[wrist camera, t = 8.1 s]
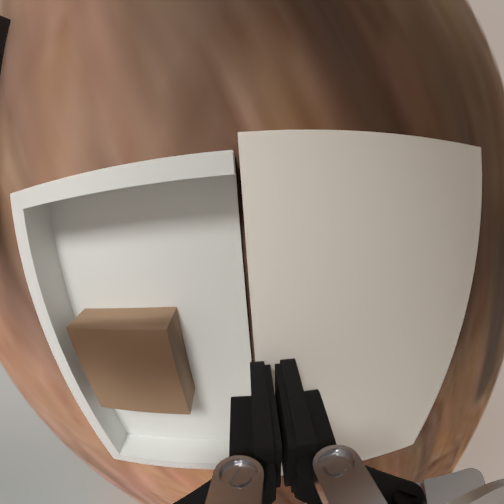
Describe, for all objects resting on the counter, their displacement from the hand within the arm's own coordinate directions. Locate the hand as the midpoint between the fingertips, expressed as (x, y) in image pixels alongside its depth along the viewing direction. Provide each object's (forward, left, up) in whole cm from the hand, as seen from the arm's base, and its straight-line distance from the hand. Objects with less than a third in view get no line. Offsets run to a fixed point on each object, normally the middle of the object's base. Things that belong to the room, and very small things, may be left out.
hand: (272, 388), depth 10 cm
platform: (0, +4, -4) cm, 6 cm away
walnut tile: (0, -6, -1) cm, 7 cm away
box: (0, -6, -4) cm, 7 cm away
